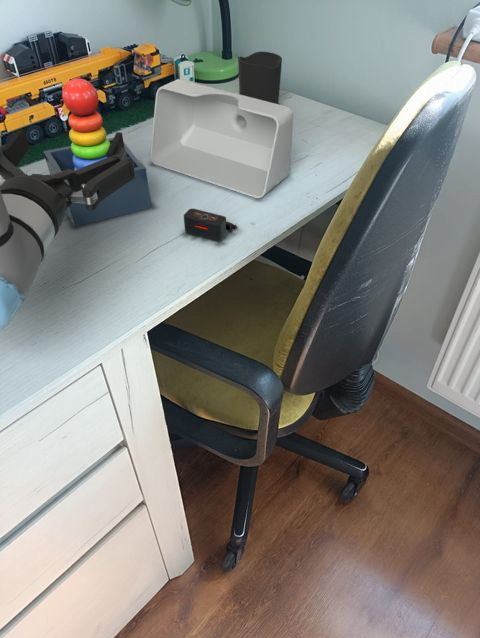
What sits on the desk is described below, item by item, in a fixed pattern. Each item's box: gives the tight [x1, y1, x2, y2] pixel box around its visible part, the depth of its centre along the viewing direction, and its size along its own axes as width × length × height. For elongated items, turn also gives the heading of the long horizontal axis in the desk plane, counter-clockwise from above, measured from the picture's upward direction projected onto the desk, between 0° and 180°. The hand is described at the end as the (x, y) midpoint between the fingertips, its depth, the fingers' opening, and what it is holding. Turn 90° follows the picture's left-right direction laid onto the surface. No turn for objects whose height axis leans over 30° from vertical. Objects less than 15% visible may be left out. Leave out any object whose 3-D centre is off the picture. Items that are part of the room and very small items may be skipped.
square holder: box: [43, 137, 152, 227], centre depth 85 cm, size 13×13×7 cm
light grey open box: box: [149, 78, 294, 199], centre depth 93 cm, size 25×16×12 cm, turn 59°
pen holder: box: [237, 50, 283, 104], centre depth 114 cm, size 9×9×10 cm
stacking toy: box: [61, 78, 110, 171], centre depth 80 cm, size 8×8×19 cm
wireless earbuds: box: [183, 208, 238, 243], centre depth 80 cm, size 5×7×3 cm, turn 67°
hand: (72, 140), depth 73 cm, fingers open, 13 cm apart
